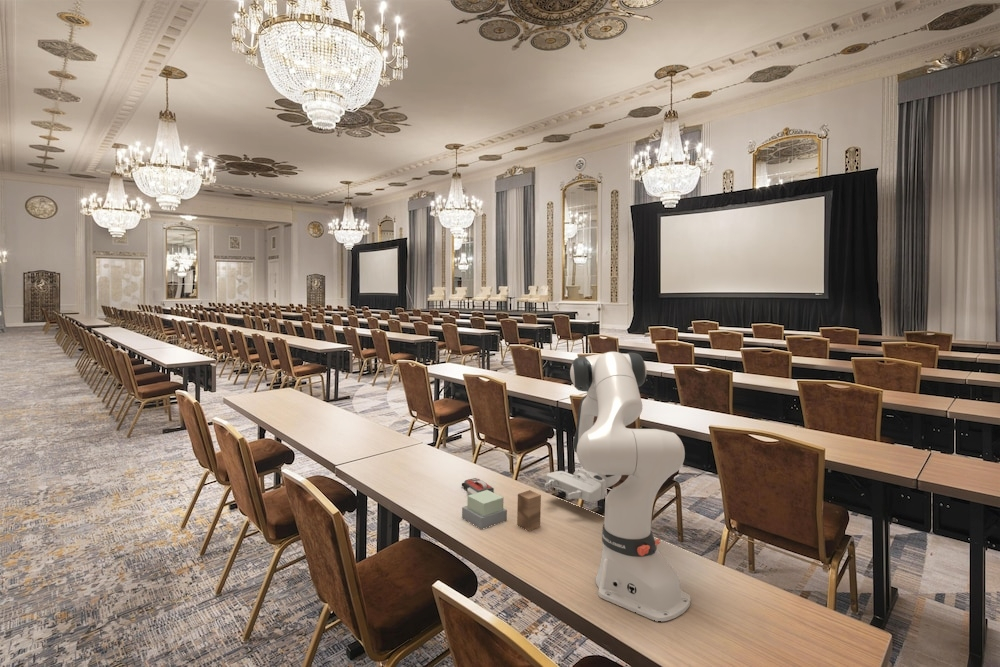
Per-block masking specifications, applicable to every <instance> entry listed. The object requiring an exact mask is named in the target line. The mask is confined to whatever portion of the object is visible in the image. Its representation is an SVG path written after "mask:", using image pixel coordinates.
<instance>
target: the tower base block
mask: <svg viewBox="0 0 1000 667" xmlns="http://www.w3.org/2000/svg"><path fill="white" fill-rule="evenodd" d="M507 517H508V510H507V509H506V508H504V507H503V510H501V511H498V512H496V513H493V514H490V515H487V516H484V517H483V516H481V515H479V514H478V513H476V512H474V511H472V510H470V509H468V508H467V505H465V506H462V507H461V518H462V520H464V519H465V520H464V521H466V520H467V521H466V522H468V523H469V522H470V523H469V524H471V525H473V524H474V525H475V527H476V526H477V528H478V527H479V528H478V529H479V530H481V529H482V530H484V529H483V528H485V529H487V528H490V527H492V526H491V525H493V526H495V525H494V524H496V525H498V524H497V523H499V524H501V523H500V522H502V523H504V522H503V521H505V522H507V521H506V520H508V518H507ZM474 525H473V526H474ZM489 526H490V527H489ZM486 527H487V528H486Z"/></svg>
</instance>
